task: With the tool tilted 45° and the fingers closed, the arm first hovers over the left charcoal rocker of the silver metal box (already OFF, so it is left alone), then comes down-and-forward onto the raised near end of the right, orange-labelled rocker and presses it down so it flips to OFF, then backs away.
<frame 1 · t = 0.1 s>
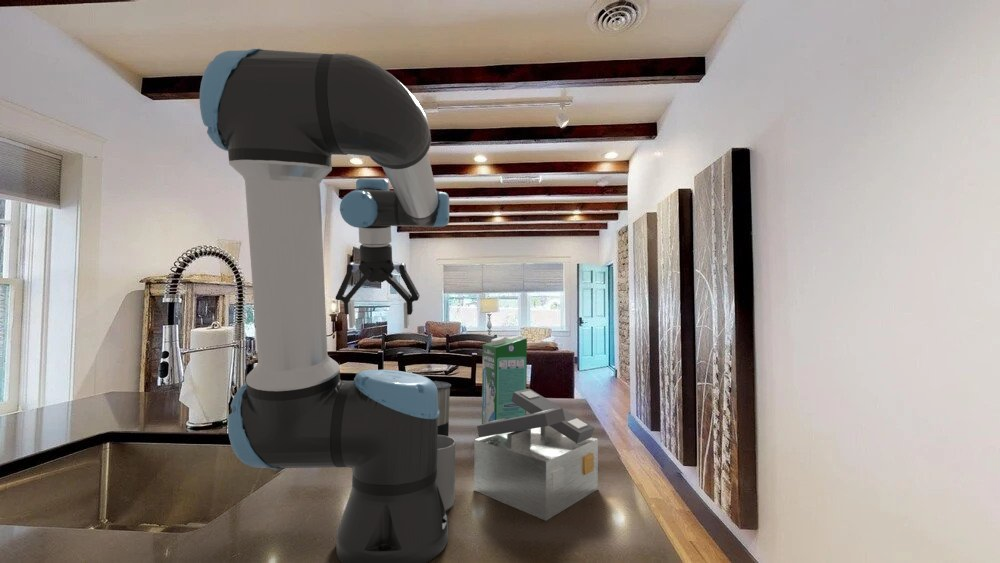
hand: (379, 326, 109), 28 cm above the worktop, tool tilted 20°, fingers open, 13 cm apart
silver metal box: (536, 489, 78), on the worktop
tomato: (573, 459, 94), on the worktop
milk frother: (411, 450, 99), on the worktop
rocker 2: (551, 413, 82), point 13 cm above the worktop, hinge at 18.0°
cup: (429, 503, 72), on the worktop
milk carton: (503, 431, 114), on the worktop
rocker 1: (519, 422, 75), point 13 cm above the worktop, hinge at -18.0°
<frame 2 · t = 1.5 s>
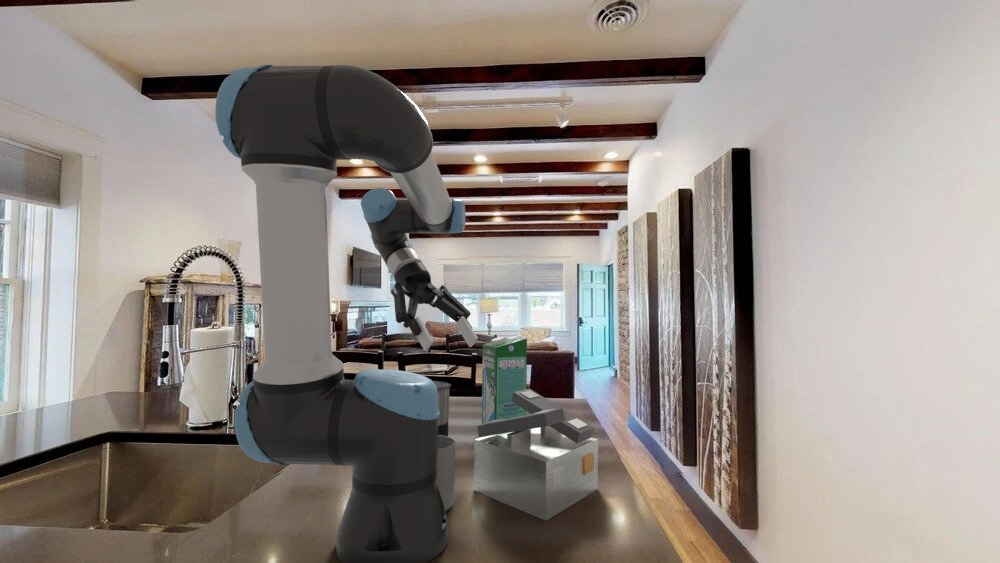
hand: (452, 344, 87), 25 cm above the worktop, tool tilted 45°, fingers open, 11 cm apart
nothing on the worktop moved.
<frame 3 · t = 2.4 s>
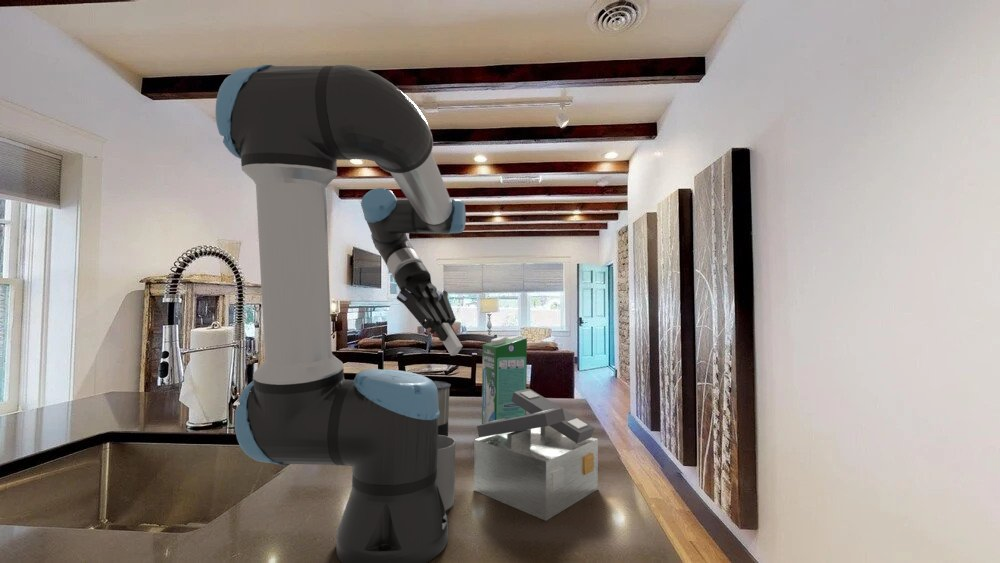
hand: (456, 350, 87), 24 cm above the worktop, tool tilted 45°, fingers closed
nothing on the worktop moved.
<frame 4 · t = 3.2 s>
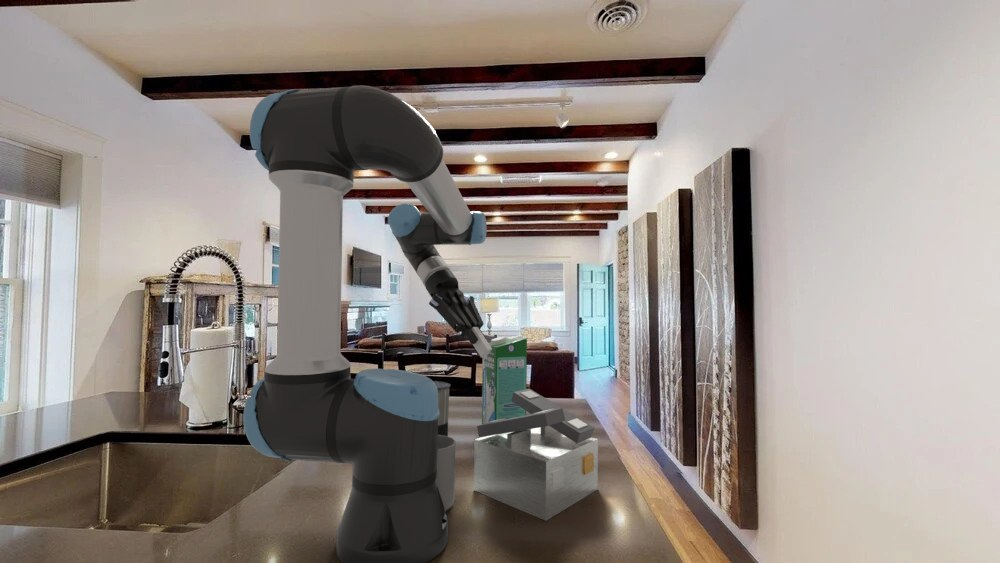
hand: (486, 353, 93), 23 cm above the worktop, tool tilted 45°, fingers closed
nothing on the worktop moved.
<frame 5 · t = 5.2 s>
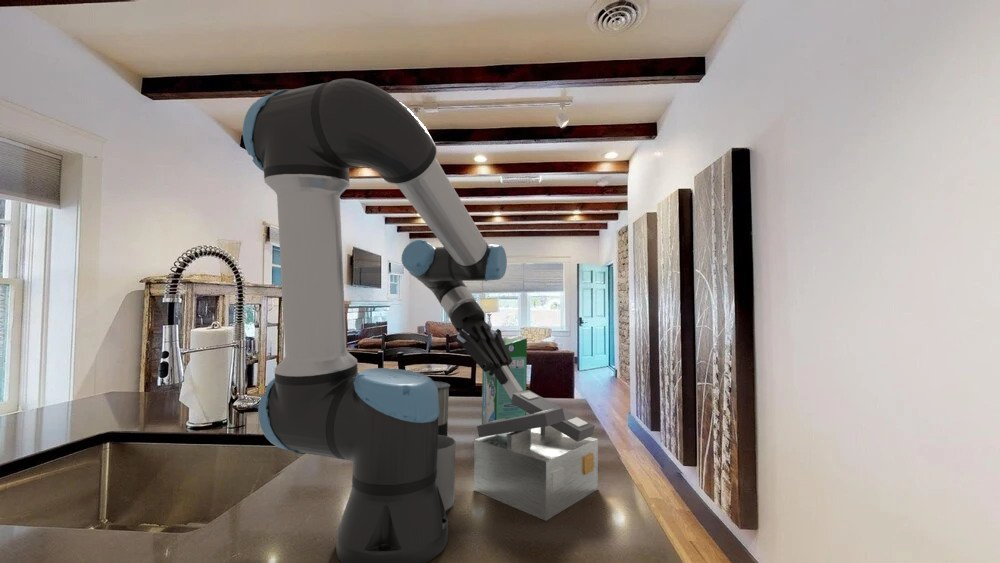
hand: (517, 394, 88), 15 cm above the worktop, tool tilted 45°, fingers closed
rocker 2: (551, 413, 82), point 13 cm above the worktop, hinge at 15.5°, touching gripper
everything else where it was.
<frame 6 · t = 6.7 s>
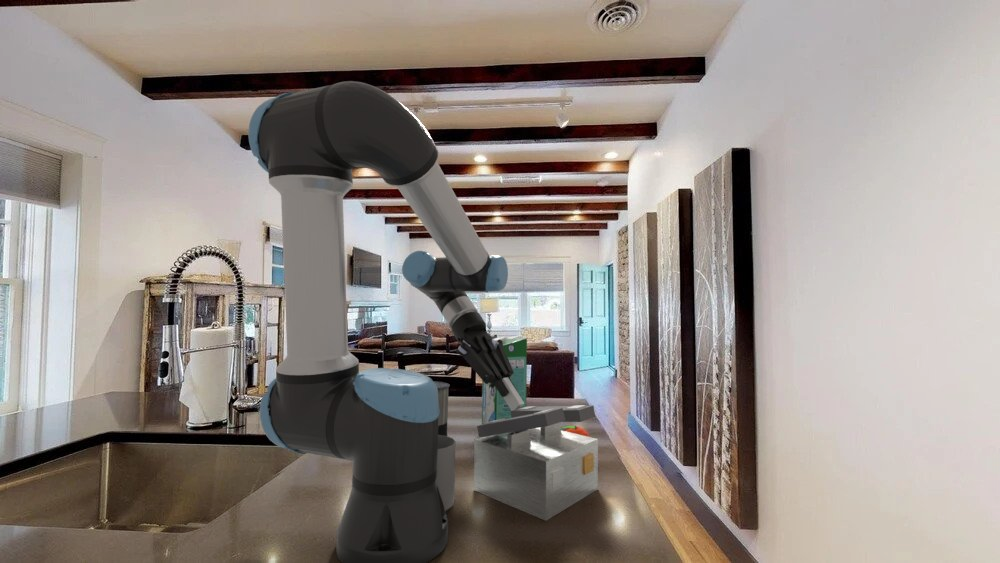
hand: (518, 407, 87), 13 cm above the worktop, tool tilted 45°, fingers closed
rocker 2: (550, 413, 82), point 13 cm above the worktop, hinge at -10.2°
everything else where it was.
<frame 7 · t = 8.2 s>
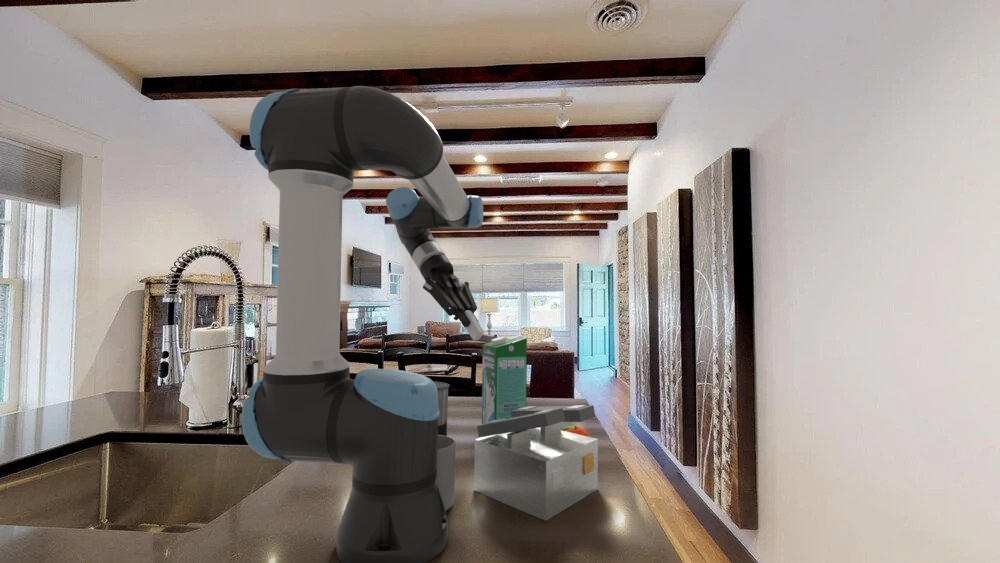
hand: (479, 336, 93), 27 cm above the worktop, tool tilted 45°, fingers closed
nothing on the worktop moved.
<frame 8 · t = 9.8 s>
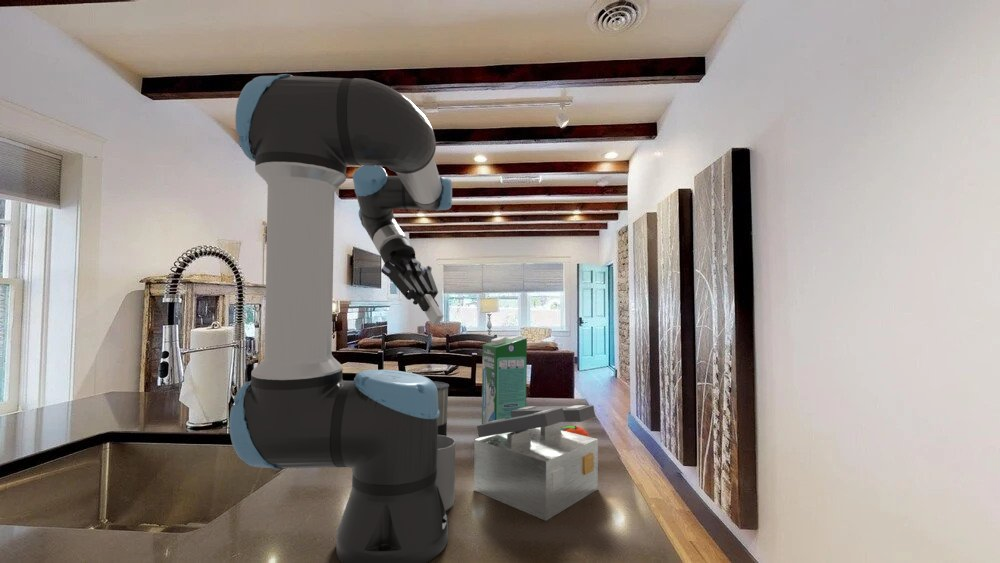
hand: (437, 320, 90), 30 cm above the worktop, tool tilted 45°, fingers closed
nothing on the worktop moved.
at the end: rocker 2 at -10° (first picture: +18°); rocker 1 at -18° (first picture: -18°) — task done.
